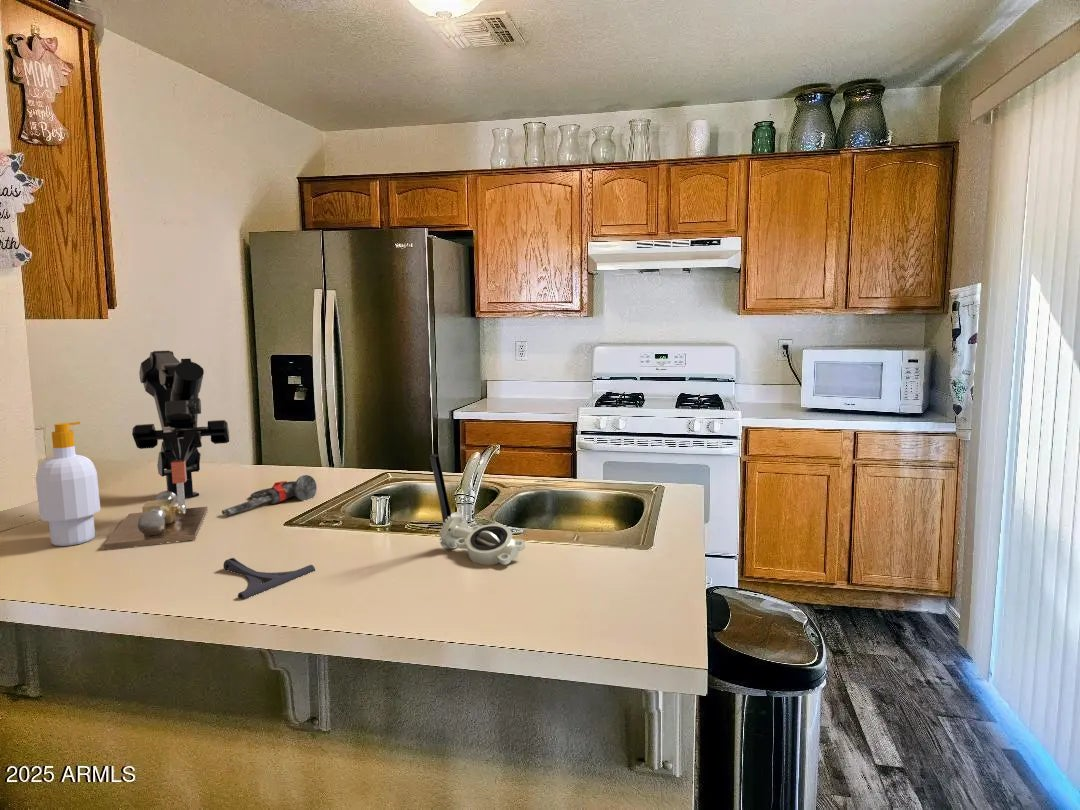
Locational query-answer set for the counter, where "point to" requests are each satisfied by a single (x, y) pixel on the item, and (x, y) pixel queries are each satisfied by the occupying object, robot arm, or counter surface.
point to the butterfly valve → (473, 531)
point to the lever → (179, 482)
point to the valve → (279, 493)
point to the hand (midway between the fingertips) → (180, 465)
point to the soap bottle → (67, 491)
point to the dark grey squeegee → (263, 577)
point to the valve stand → (158, 524)
